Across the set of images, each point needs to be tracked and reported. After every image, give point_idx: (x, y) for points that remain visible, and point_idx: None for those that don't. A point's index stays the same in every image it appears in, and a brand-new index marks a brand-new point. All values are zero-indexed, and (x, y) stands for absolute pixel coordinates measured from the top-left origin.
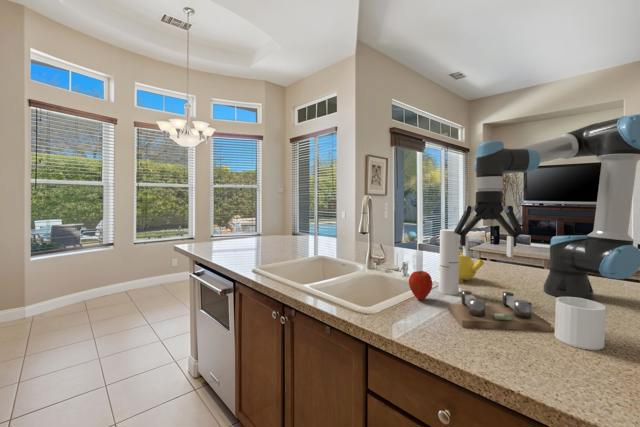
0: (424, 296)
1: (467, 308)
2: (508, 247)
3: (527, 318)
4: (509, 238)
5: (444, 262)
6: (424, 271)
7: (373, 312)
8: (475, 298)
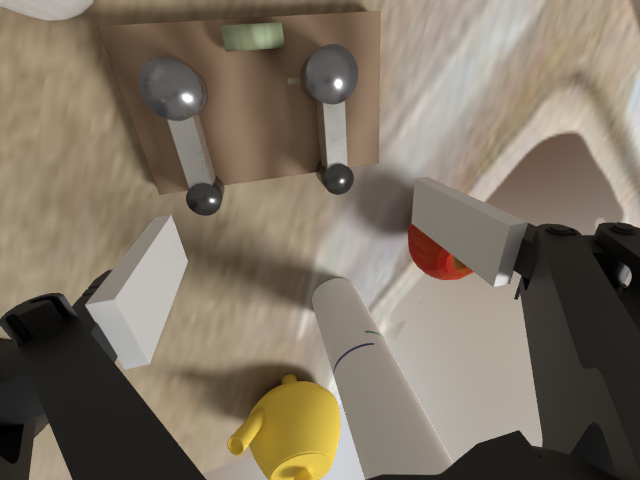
0: None
1: None
2: (166, 272)
3: None
4: (136, 312)
5: (385, 345)
6: (451, 273)
7: (557, 93)
8: (327, 118)
